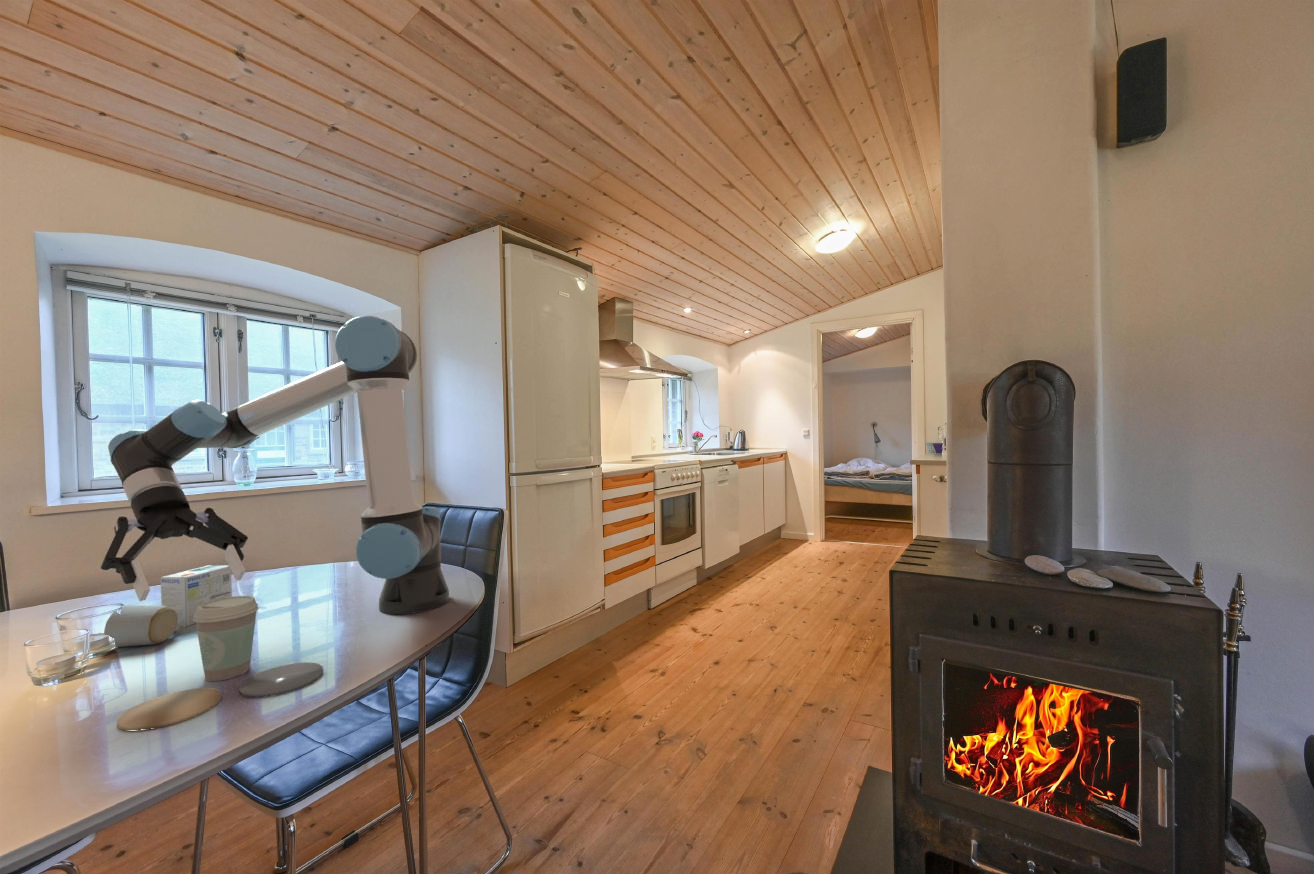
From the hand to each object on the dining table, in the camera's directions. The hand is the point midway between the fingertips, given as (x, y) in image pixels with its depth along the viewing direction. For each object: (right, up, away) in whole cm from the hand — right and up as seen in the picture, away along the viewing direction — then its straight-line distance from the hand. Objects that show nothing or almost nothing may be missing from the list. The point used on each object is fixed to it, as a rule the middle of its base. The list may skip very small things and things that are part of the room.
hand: (196, 585), depth 92 cm
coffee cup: (+9, -14, -4) cm, 17 cm away
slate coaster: (+21, -13, -8) cm, 26 cm away
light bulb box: (-21, -15, +25) cm, 36 cm away
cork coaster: (+11, -14, -16) cm, 24 cm away
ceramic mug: (-20, -15, +11) cm, 27 cm away
